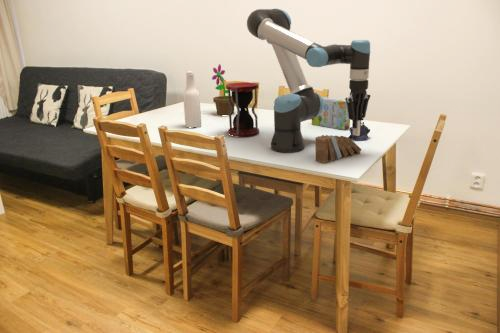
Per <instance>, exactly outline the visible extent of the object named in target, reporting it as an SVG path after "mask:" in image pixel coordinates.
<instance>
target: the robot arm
mask: <svg viewBox="0 0 500 333" xmlns="http://www.w3.org/2000/svg"><path fill="white" fill-rule="evenodd" d="M291 25H292V20H291V16H290V15H289V13H288V12H286V11H285V10H284V9H279V8H269V9H268V8H266V9H265V8H264V9H263V8H260V9H255V10H254V11H251V13H250V14H249V15H248V16H247V20H246V27H247V31H248V32H249V33H250V34H251V35H252V36H254V37H255V38H256V39H259V40H261V41H265V40H266V43H267V44H270V45H271V46H272V49H273V51H274V53H275V56H276V59H277V61H278V64H279V67H280V70H281V71H282V74H283V77H284V79H285V83H286V84H287V86H288V89H289V92H290V93H288V94H287V93H286V94H283V95H280V96H278V97H276V98H275V99H274V102H273V103H274V104H273V114H274V115H273V116H274V118H273V119H274V120H273V121H274V122H273V123H274V125H273V126H274V128H273V129H274V131H273V134H272V138H271V141H270V149H271V150H272V151H274V152H279V153H295V152H296V153H297V152H300V151H303V150H304V149H305V141H304V138H303V134H302V132H301V131H302V130H301V128H302V127H301V126H302V125H301V123H302V122H307V121H309V120H310V121H312V119H313V118H315V117H317V116H319V115H320V114H321V112H322V109H323V99H322V97H323V96H321V95H320V94H319V93H317V92H315V91H314V88H313V86H311V85H309V84H308V82H307V80H306V76H305V75H304V72H303V69H302V67H301V64H300V62H299V59H298V57H300V58H302V59H303V60H306V62H307V64H308V65H309V66H310V67H312V68H321V67H326V66H332V65H337V64H339V65H341V64H342V65H343V64H345V65H349V79H350V80H349V82H348V83H349V87H348V88H349V90H350V93H349V96H348V97H345V100H346V102H347V108H348V115H349V119H350V121H352V123H351V124H352V128H353V135H355V136H360V127H361V125H362V124H361V123H362V121H364V118H366V115H367V110H368V105H369V102H370V101H369V100H371V99H370V98H371V94H368V93H367V92H368V91H367V90H368V88H369V80H368V79H369V76H370V75H369V72H370V59H371V58H370V56H371V41H369V40H368V39H354V40H352V41H351V43H350V44H348V45H346V44H335V43H334V44H328V45H324V46H323V45H321V44H318V43H316V42H314V41H312V40H310V39H308V38H306V37H304V36H302V35H299V34H298V33H296V32H294V31H292V30H291V27H292V26H291Z"/></svg>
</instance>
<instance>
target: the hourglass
mask: <svg viewBox="0 0 500 333" xmlns="http://www.w3.org/2000/svg"><path fill="white" fill-rule="evenodd" d="M258 88H259V84H258V83H256V82H250V81H244V82H243V81H241V82H240V81H239V82H230V83H227V84H225V90H228V93H227V96H228V100H229V104H230V105H231V108H232V111H231V113H230V115H229V116H228V117H229V120H228V121H229V129H228V130H227V133H228V135H229V134H230V135H233V136H232V137H234V136H238V137H237V138H249V136H250V137H254V136H257V135H259V134H260V129H259V128H258V115H257V113H256V112H255V108H256V106H257V105H258V104H257V103H258V93H257V92H258ZM230 96H232V99H233V101H234V103H235V105H234V106H233V104H232V103H231V97H230ZM253 100H254V104H253V105H252V107H251V112H252V115H253V116H254V118H255V119H254V118H253V116H252V115H251V113H250V110H249V105H250V104H251V103H252V101H253ZM235 107H236V112H237V114H235V116H234V118H233V119H232V116H233V115H232V113H233V112H234V113H235ZM254 120H255V123H254ZM230 135H229V136H230Z"/></svg>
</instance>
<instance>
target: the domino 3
mask: <svg viewBox="0 0 500 333" xmlns="http://www.w3.org/2000/svg"><path fill="white" fill-rule="evenodd" d="M325 136H328V137H331V138H332V144H333V150H334V156H335V160H340V159H341V158H342V157H343V156H342V155H341V152H340V150H339V147H338V144H337V141H336V138H335V137H332V136H333V135H332V136H330V135H328V134H326V135H325Z"/></svg>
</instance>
